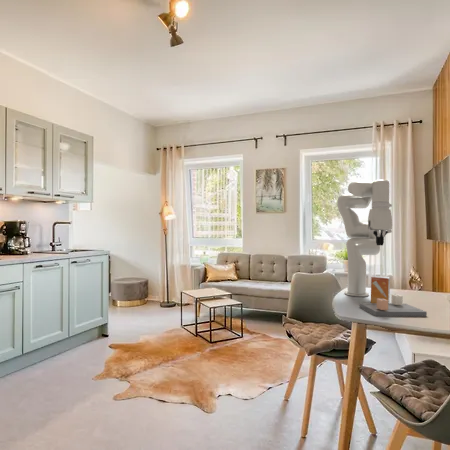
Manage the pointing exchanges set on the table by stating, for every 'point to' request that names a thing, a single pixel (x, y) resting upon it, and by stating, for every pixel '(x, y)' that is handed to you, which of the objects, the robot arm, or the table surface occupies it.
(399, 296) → the cream fader
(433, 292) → the table surface
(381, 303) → the block
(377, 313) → the plate
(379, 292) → the small box
